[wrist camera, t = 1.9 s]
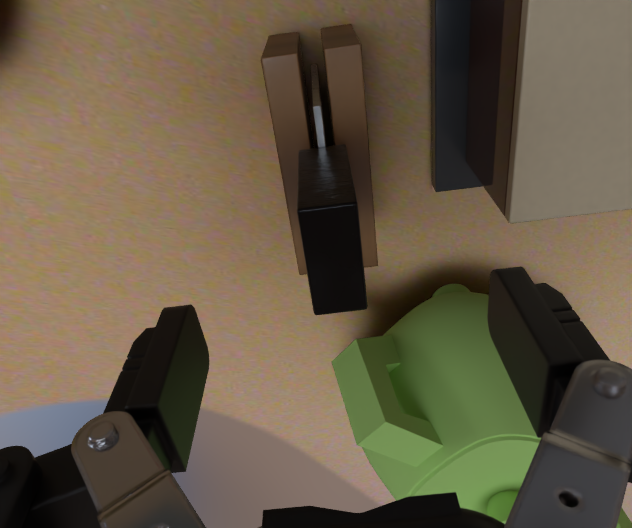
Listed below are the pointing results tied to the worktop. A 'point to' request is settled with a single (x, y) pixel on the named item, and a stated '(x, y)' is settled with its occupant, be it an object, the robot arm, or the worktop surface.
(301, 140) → the knife block
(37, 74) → the worktop surface
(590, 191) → the cake
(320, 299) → the knife
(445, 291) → the teapot
